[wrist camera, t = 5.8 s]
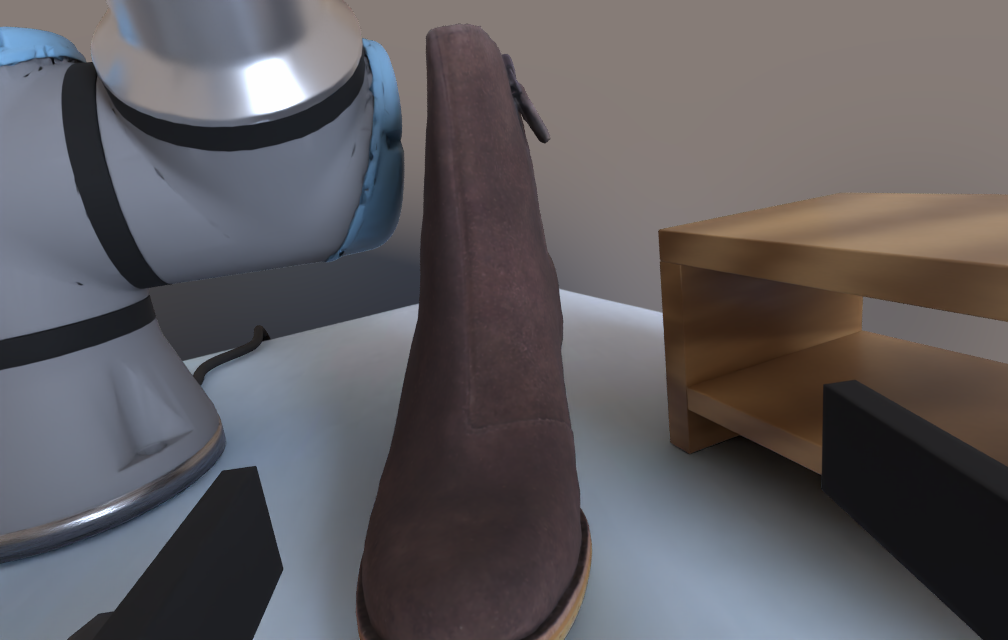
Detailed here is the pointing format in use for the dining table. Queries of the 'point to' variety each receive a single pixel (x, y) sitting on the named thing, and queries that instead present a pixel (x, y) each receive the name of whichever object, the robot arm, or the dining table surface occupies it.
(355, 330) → the dining table surface
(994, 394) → the shoe rack
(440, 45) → the boot
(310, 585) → the dining table surface
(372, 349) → the dining table surface
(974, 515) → the robot arm
